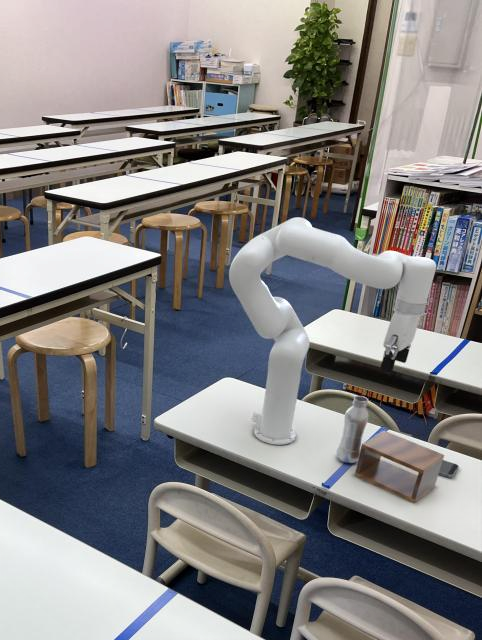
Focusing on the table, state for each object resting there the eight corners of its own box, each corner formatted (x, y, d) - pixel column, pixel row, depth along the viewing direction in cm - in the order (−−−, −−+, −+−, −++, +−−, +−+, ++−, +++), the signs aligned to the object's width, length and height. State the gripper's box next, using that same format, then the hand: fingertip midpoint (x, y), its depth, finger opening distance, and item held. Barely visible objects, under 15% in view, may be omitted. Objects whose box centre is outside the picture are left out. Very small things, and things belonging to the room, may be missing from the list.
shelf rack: (354, 475, 196) (362, 443, 190) (375, 461, 203) (383, 430, 198) (414, 503, 185) (424, 470, 180) (434, 486, 192) (444, 454, 187)
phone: (458, 467, 201) (403, 449, 209) (459, 465, 201) (404, 447, 209) (451, 478, 196) (395, 460, 204) (452, 476, 196) (396, 457, 203)
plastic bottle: (359, 467, 200) (374, 405, 189) (335, 464, 201) (349, 402, 190) (358, 456, 205) (372, 395, 195) (334, 453, 206) (347, 392, 196)
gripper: (408, 295, 190) (392, 353, 199) (382, 310, 178) (367, 371, 187) (435, 302, 186) (417, 361, 195) (411, 317, 174) (393, 379, 183)
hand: (393, 366), depth 191 cm, fingers open, 9 cm apart
